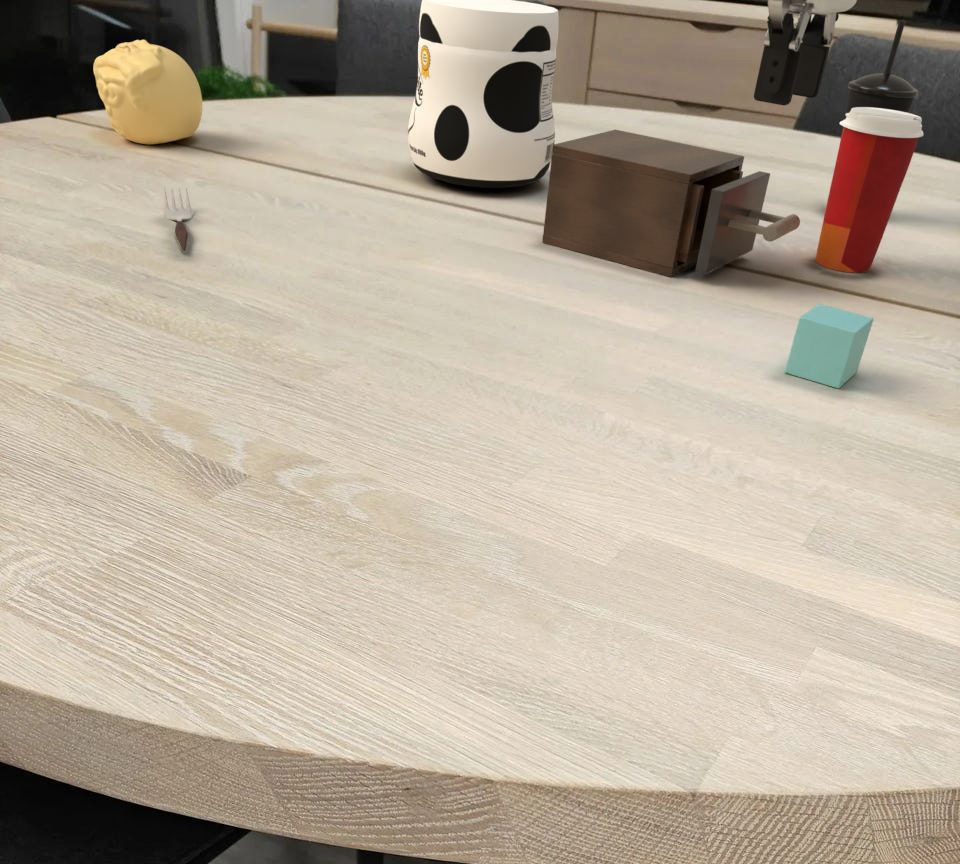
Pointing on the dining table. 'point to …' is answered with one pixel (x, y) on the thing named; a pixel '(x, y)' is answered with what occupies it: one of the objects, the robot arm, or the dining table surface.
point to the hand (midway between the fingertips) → (786, 96)
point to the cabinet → (626, 197)
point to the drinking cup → (882, 86)
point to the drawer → (728, 219)
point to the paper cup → (865, 185)
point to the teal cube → (828, 345)
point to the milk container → (484, 92)
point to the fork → (179, 217)
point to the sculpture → (148, 92)
